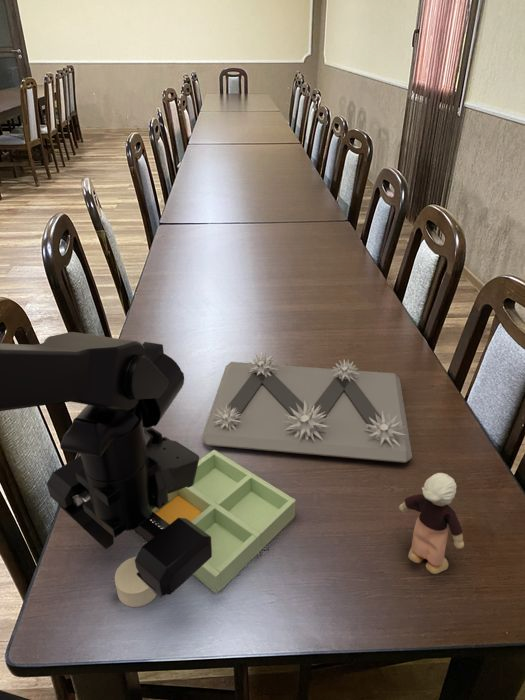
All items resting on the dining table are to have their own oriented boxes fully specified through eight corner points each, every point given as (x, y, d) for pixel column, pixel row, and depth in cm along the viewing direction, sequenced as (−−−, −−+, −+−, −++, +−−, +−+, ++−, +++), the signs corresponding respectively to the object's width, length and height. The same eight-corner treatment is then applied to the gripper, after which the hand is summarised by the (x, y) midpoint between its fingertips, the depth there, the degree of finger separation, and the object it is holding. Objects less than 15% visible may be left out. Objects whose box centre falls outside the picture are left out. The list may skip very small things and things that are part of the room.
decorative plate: (397, 382, 93) (403, 347, 89) (411, 470, 75) (419, 430, 71) (227, 369, 96) (226, 334, 92) (200, 450, 78) (197, 411, 74)
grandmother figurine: (460, 560, 62) (485, 480, 56) (451, 585, 59) (476, 504, 53) (397, 531, 66) (413, 453, 59) (385, 553, 63) (401, 474, 56)
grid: (216, 594, 58) (215, 576, 57) (134, 526, 66) (131, 509, 64) (295, 516, 68) (296, 499, 66) (214, 465, 75) (213, 449, 74)
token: (135, 615, 56) (132, 601, 55) (108, 590, 59) (105, 576, 57) (169, 585, 59) (167, 571, 58) (142, 562, 62) (139, 548, 60)
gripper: (250, 458, 49) (251, 568, 57) (123, 382, 59) (139, 484, 67) (156, 534, 42) (172, 647, 50) (30, 432, 52) (60, 540, 60)
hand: (135, 569), depth 57 cm, fingers open, 9 cm apart
